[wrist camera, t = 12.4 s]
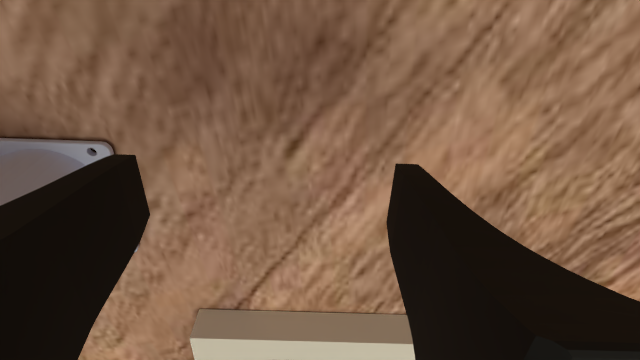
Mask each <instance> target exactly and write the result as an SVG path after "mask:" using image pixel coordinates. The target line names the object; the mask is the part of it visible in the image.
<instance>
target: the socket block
mask: <svg viewBox="0 0 640 360" xmlns="http://www.w3.org/2000/svg"><path fill="white" fill-rule="evenodd" d="M190 342H191V346H192V351H193V355H194V359H195V360H415V354H414V347H413V341H412V335H411V330H410V326H409V321H408V317H407V315H396V314H360V313H325V312H289V311H253V310H217V309H199V311H198V314H197V317H196V320H195V324H194V327H193V330H192V333H191V336H190Z"/></svg>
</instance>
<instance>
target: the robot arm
mask: <svg viewBox="0 0 640 360" xmlns="http://www.w3.org/2000/svg"><path fill="white" fill-rule="evenodd" d="M90 148H93V149H94V150H96V152H97V153H95V152H93V151H92V150H91V149H90ZM149 216H150V212H149V208H148V204H147V200H146V196H145V192H144V188H143V184H142V180H141V176H140V172H139V168H138V164H137V160H136V156H135V155H118V154H114V152H113V149H112V147H111V146H110V145H109V144H108V143H106V142H102V141H75V140H45V139H15V138H0V360H78V357H79V355H80V353H81V351H82V348H83V346H84V344H85V342H86V339H87V337H88V335H89V332H90V330H91V328H92V326H93V324H94V322H95V320H96V318H97V316H98V315H99V313H100V311H101V309H102V307H103V306H104V304H105V302H106V300H107V299H108V297H109V295H110V294H111V292H112V290H113V288H114V287H115V285H116V283H117V282H118V280H119V278H120V276H121V275H122V273H123V271H124V270H125V268H126V266H127V264H128V263H129V261H130V259H131V257H132V255H133V254H134V253H135V252H136V251H137V250H138V248H139V242H140V240H141V237H142V235H143V232H144V230H145V227H146V224H147V222H148V219H149ZM387 230H388V239H389V246H390V253H391V257H392V261H393V265H394V269H395V272H396V276H397V280H398V284H399V287H400V291H401V295H402V299H403V302H404V306H405V310H406V314H407V317H408V321H409V326H410V330H411V335H412V341H413V347H414V354H415V360H640V302H639V301H637V300H634V299H631V298H629V297H626V296H624V295H622V294H619V293H617V292H615V291H612V290H610V289H608V288H606V287H603V286H601V285H599V284H597V283H594V282H592V281H590V280H588V279H586V278H583V277H581V276H579V275H577V274H575V273H573V272H571V271H569V270H567V269H565V268H563V267H561V266H559V265H557V264H555V263H554V262H552V261H550V260H548V259H546V258H544V257H542V256H540V255H539V254H537V253H535V252H533V251H531V250H530V249H528V248H526V247H525V246H523V245H521V244H520V243H518V242H517V241H515V240H513V239H512V238H510V237H509V236H507V235H506V234H504V233H502V232H501V231H499V230H498V229H496V228H495V227H494V226H492V225H491V224H489V223H488V222H487V221H485V220H484V219H483V218H481V217H480V216H479V215H477V214H476V213H475V212H473V211H472V210H471V209H470V208H468V207H467V206H466V205H464V204H463V203H462V202H461V201H460V200H458V199H457V198H456V197H455V196H454V195H453V194H451V193H450V192H449V191H448V190H447V189H446V188H444V187H443V186H442V185H441V184H440V183H439V182H438V181H437V180H435V179H434V178H433V177H432V176H431V175H430V174H429V173H428V172H426V171H425V170H424V169H423V168H422V167H420V166H419V165H418V164H396V166H395V172H394V178H393V185H392V191H391V197H390V203H389V210H388V216H387Z"/></svg>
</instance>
